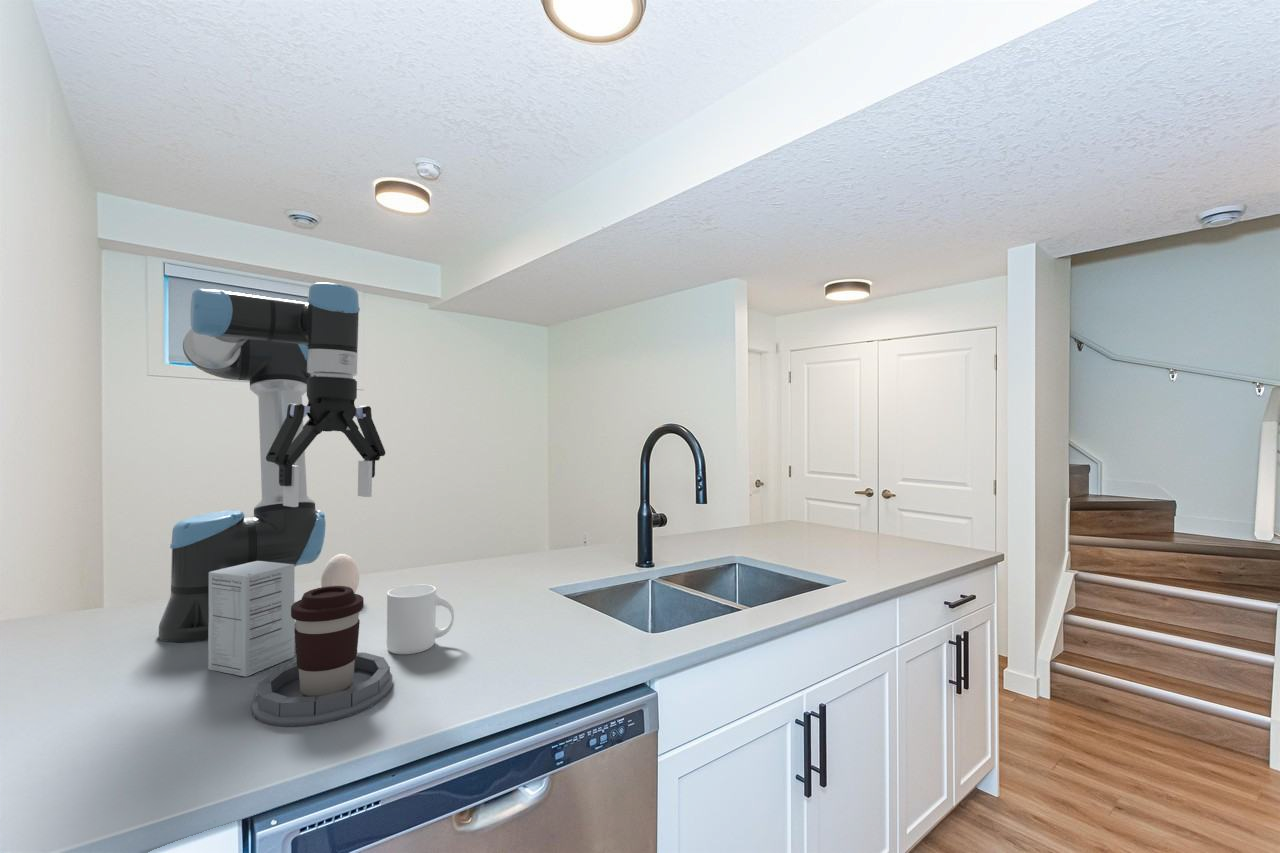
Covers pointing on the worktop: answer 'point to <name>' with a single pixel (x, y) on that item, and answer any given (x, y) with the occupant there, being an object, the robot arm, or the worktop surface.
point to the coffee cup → (326, 639)
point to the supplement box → (250, 617)
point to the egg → (341, 572)
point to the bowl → (292, 708)
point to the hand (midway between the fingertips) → (329, 501)
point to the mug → (414, 618)
